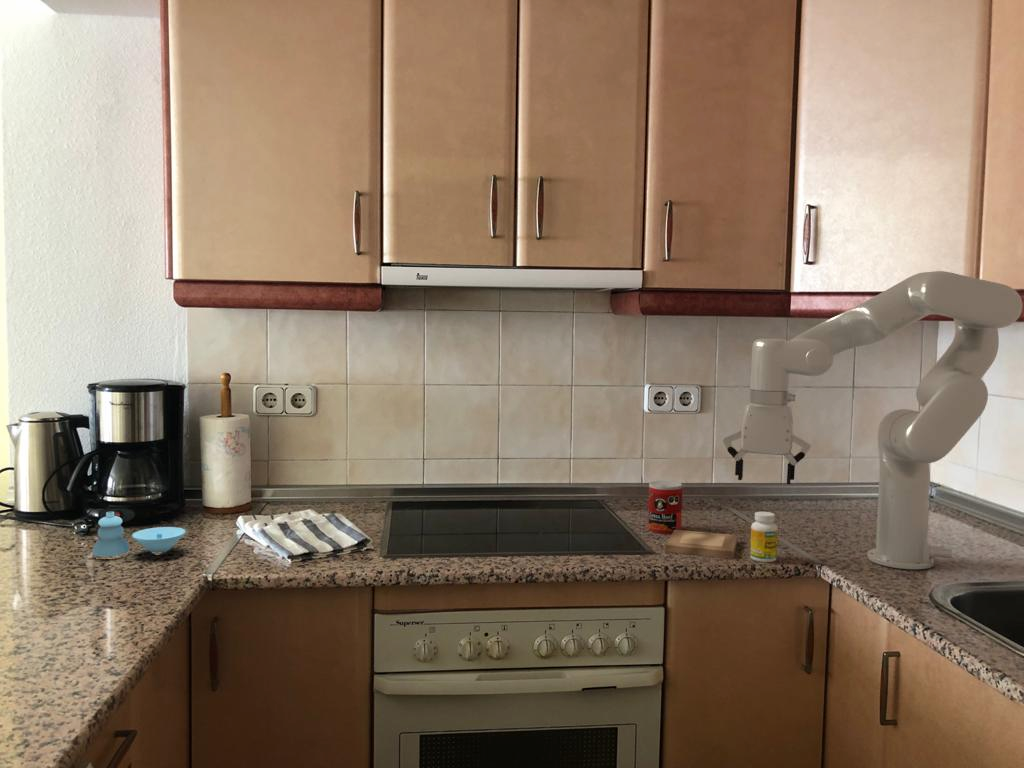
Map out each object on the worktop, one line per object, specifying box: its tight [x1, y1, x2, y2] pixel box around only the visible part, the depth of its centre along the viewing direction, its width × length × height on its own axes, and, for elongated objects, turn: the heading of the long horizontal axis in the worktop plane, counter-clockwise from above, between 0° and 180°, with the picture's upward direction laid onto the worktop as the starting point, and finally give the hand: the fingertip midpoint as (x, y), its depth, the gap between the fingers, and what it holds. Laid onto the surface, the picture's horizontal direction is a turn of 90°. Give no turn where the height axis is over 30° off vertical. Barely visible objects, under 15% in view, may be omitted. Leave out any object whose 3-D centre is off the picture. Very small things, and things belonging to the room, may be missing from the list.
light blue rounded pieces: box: [92, 511, 187, 557], centre depth 179 cm, size 18×10×9 cm, turn 101°
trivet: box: [665, 529, 739, 559], centre depth 190 cm, size 14×14×2 cm
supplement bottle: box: [749, 511, 779, 563], centre depth 181 cm, size 5×5×10 cm
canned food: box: [647, 480, 683, 535], centre depth 204 cm, size 8×8×11 cm
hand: (764, 481), depth 180 cm, fingers open, 9 cm apart
